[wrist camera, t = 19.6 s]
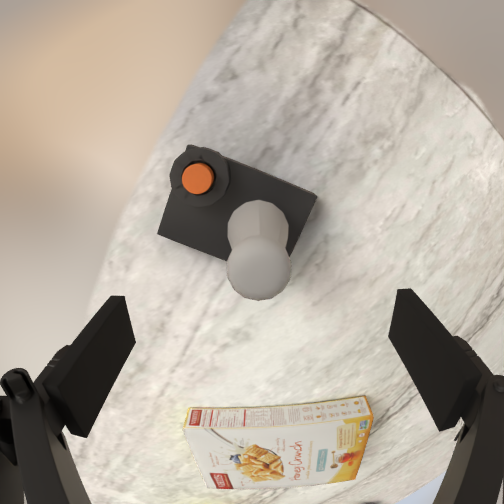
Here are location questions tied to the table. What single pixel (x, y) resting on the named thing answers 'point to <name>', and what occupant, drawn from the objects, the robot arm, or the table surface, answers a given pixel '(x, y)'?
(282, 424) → the cereal box
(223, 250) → the scale
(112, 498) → the table surface
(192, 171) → the button
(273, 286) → the salt shaker
